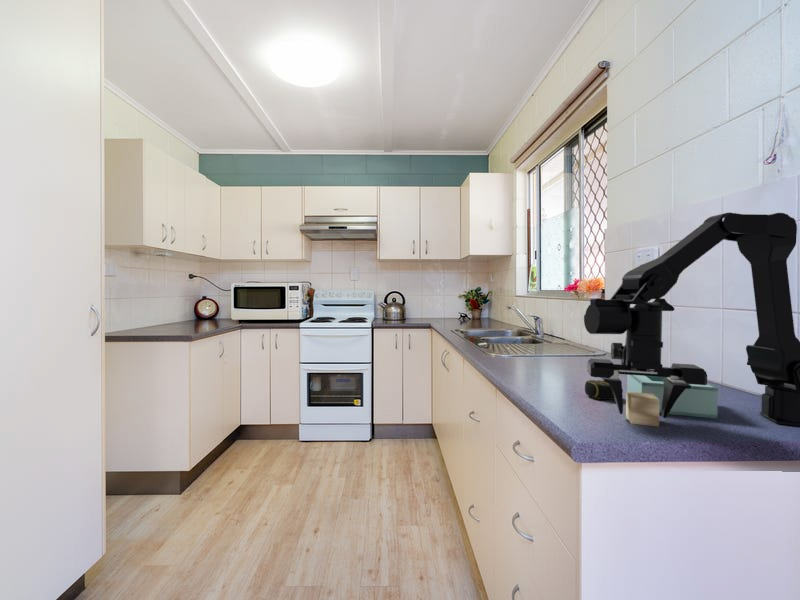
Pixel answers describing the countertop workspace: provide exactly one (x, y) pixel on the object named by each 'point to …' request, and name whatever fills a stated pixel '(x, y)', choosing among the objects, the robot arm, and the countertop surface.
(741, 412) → the countertop surface
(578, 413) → the countertop surface
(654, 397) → the pine block
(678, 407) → the teal box
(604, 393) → the tape measure
